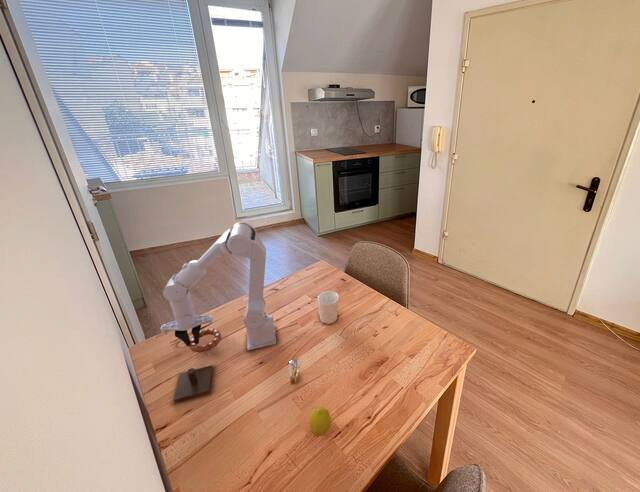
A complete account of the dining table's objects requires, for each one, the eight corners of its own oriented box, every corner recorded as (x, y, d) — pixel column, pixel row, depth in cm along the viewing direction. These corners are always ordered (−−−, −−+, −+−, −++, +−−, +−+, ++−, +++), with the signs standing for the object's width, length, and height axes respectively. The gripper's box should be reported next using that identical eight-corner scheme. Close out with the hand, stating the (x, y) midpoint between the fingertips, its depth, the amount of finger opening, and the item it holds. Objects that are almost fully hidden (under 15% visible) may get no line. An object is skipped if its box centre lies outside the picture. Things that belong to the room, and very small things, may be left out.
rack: (212, 367, 93) (209, 354, 91) (209, 393, 86) (205, 379, 83) (180, 375, 90) (176, 362, 88) (174, 402, 83) (169, 389, 80)
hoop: (222, 329, 105) (221, 324, 104) (220, 349, 97) (219, 345, 96) (192, 335, 102) (191, 331, 101) (187, 357, 94) (186, 352, 93)
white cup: (342, 315, 116) (342, 295, 112) (330, 328, 110) (329, 307, 106) (326, 308, 120) (326, 288, 116) (314, 319, 114) (313, 299, 110)
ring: (297, 390, 87) (295, 372, 84) (287, 389, 87) (285, 370, 84) (304, 370, 93) (302, 352, 90) (294, 369, 94) (292, 351, 90)
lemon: (310, 420, 79) (309, 401, 76) (331, 419, 80) (330, 400, 76) (309, 443, 74) (307, 423, 71) (331, 441, 75) (330, 422, 71)
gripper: (210, 298, 98) (217, 329, 104) (160, 307, 94) (171, 339, 99) (208, 312, 92) (216, 344, 98) (154, 323, 88) (166, 355, 93)
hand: (193, 342), depth 98 cm, fingers closed on hoop, 2 cm apart
